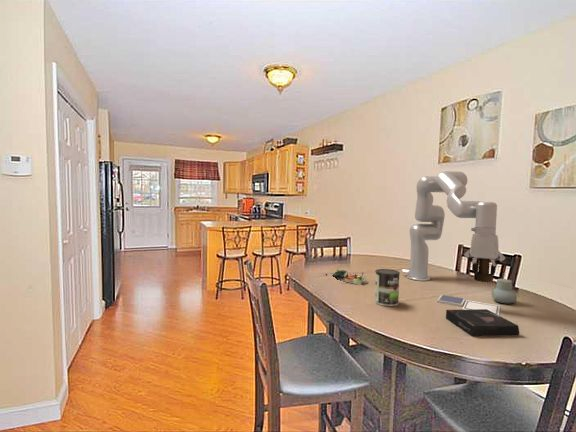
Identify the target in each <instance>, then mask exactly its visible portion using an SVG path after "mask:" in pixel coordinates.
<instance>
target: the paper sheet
mask: <svg viewBox="0 0 576 432" xmlns="http://www.w3.org/2000/svg"><path fill="white" fill-rule="evenodd" d="M471 309H487V310H489V311H491V312H493V313H495V314H497V315H499V316H500V311H501V310H500V309H501V305H499V304H492V303H486V302H479V301H473V300H469V299H465V302H464V304H463V306H462V307H461V310H471Z"/></svg>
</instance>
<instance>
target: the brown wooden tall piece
mask: <svg viewBox="0 0 576 432" xmlns="http://www.w3.org/2000/svg"><path fill="white" fill-rule="evenodd" d="M490 262H491V259H483V258H478V270H477V271H476V273H474V277H473V278H474V280H475V281H477V282H483V283H493V281H494V279H493V275H490V274H491V273H490Z"/></svg>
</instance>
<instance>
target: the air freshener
mask: <svg viewBox="0 0 576 432" xmlns="http://www.w3.org/2000/svg"><path fill="white" fill-rule="evenodd" d="M491 298H492V299H493V301H494V302H497V303H501V304H507V305H509V304H514V303H515V302H517V300H518V299H517V292H515V291H514V290H513V281H512V280H511V279H506V278H498V279H496V287H494V288H493V289H491Z"/></svg>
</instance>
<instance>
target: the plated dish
mask: <svg viewBox="0 0 576 432" xmlns="http://www.w3.org/2000/svg"><path fill="white" fill-rule="evenodd" d="M348 273H349V272H348V270H344V269H340V270H339V269H338V268H337V269H336V271H335V272H333V273H332V274H333V275H332V276H333V277H335V278H336V279H337V280H340V281H343V282H346V283H345V284H348V283H350V284H351V285H357V284H361V285H367V284H369V281H368V280H367V278H366V276H365V275H364V272H362V273H361V275H362V276H358V275H356V274H355V275H351V274H350V275H348ZM350 284H349V285H350Z"/></svg>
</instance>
